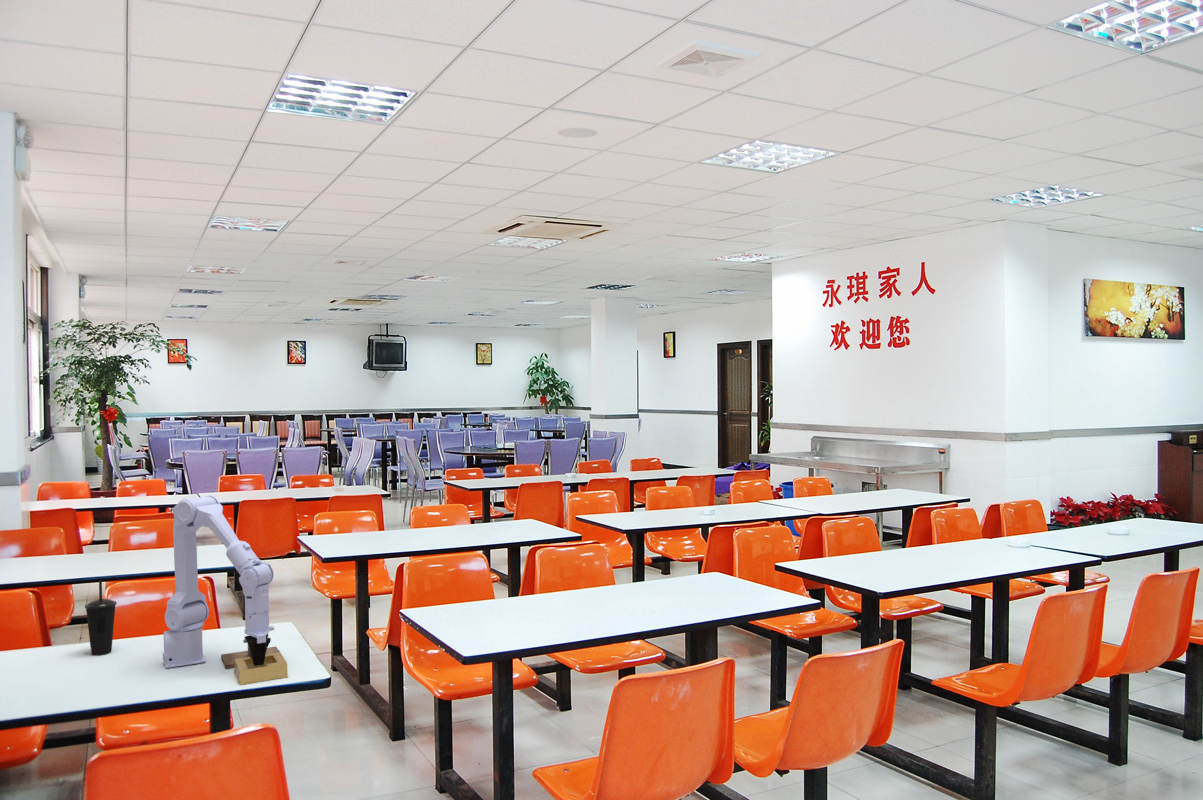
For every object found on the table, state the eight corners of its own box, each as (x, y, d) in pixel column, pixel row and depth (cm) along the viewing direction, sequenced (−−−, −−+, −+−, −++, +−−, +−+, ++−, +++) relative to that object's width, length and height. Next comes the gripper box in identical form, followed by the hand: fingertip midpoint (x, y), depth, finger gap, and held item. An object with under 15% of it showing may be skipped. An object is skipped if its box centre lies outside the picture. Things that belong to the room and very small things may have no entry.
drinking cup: (123, 649, 242) (122, 578, 242) (101, 657, 235) (100, 584, 235) (101, 648, 244) (100, 577, 244) (78, 656, 237) (77, 583, 237)
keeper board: (225, 669, 224) (225, 647, 224) (221, 658, 233) (220, 637, 233) (283, 660, 230) (282, 639, 230) (276, 650, 240) (275, 629, 240)
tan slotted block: (240, 684, 211) (239, 670, 211) (234, 672, 220) (234, 659, 220) (287, 677, 216) (287, 663, 216) (279, 665, 226) (279, 652, 226)
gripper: (278, 615, 218) (279, 669, 218) (269, 603, 230) (269, 655, 230) (248, 619, 214) (249, 674, 214) (240, 607, 227) (241, 659, 227)
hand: (257, 664), depth 222 cm, fingers closed on tan slotted block, 2 cm apart
